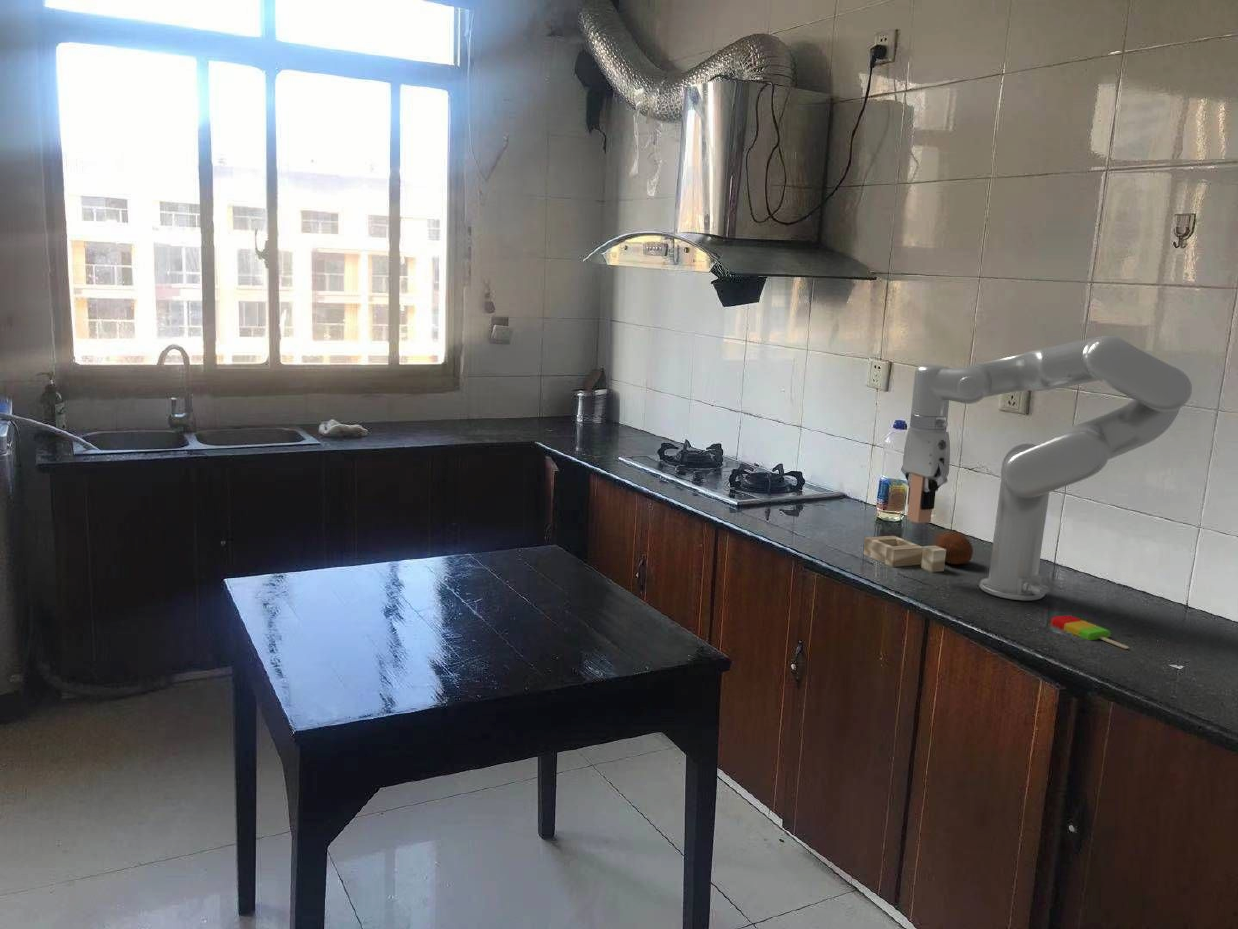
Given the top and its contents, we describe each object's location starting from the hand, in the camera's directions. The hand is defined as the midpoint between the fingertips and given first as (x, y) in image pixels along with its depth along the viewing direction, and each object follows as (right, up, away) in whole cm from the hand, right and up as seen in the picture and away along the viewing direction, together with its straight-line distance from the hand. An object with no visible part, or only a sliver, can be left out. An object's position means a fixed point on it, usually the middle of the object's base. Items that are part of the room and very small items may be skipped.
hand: (920, 506), depth 211 cm
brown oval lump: (+12, -14, +15) cm, 24 cm away
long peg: (0, -3, 0) cm, 3 cm away
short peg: (+6, -15, +9) cm, 18 cm away
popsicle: (+23, -24, -29) cm, 44 cm away
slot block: (-2, -13, +16) cm, 20 cm away
